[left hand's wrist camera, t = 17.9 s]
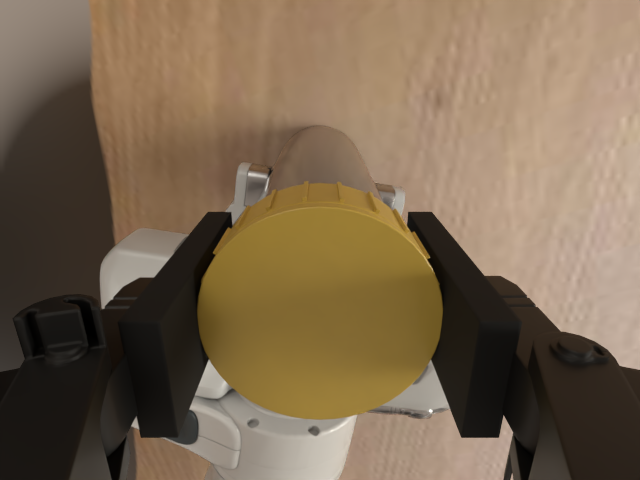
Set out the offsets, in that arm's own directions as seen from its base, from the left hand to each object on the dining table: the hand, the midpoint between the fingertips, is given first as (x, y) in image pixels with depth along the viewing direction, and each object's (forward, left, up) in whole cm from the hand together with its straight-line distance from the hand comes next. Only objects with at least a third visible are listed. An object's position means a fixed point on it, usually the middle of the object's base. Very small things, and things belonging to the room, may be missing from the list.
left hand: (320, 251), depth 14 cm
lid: (0, 0, +4) cm, 4 cm away
